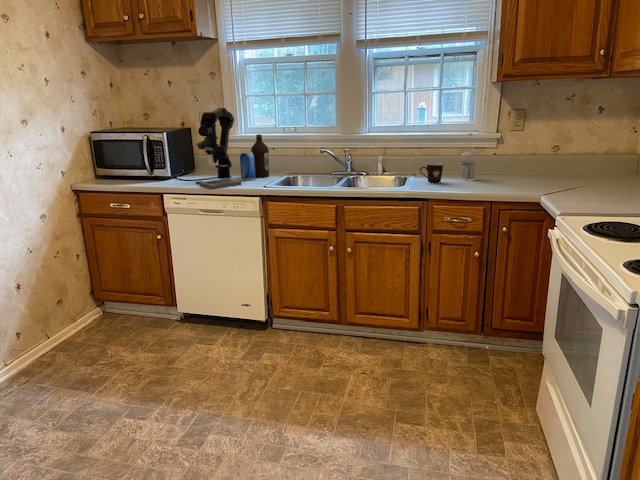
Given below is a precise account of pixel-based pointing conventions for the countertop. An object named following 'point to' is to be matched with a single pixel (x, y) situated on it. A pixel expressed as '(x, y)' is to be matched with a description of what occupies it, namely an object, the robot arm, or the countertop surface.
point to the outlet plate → (220, 183)
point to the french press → (468, 165)
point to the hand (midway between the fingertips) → (213, 162)
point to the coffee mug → (433, 172)
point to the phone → (199, 182)
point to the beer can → (247, 166)
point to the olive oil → (261, 158)
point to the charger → (211, 160)
